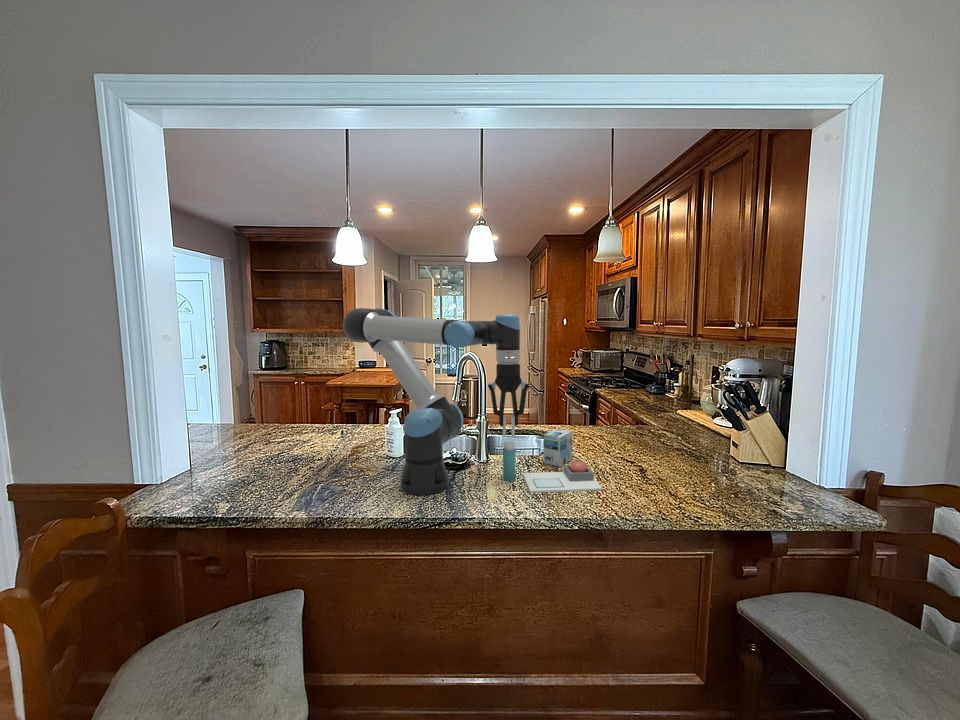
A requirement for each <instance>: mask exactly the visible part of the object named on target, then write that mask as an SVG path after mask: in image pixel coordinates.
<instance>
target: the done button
mask: <svg viewBox="0 0 960 720" xmlns="http://www.w3.org/2000/svg"><path fill="white" fill-rule="evenodd" d="M569 463H570V464H569V465H570V471H571V472H572V473H577V472H586V465H587V462H585V461H582V460H573V461H572V460H571V461H569Z"/></svg>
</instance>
